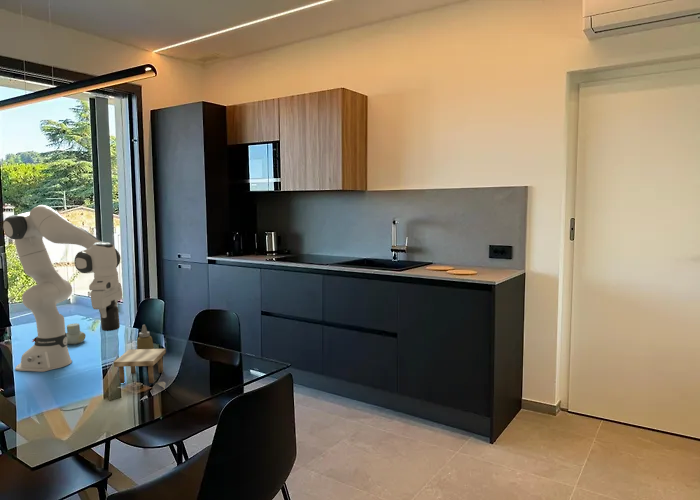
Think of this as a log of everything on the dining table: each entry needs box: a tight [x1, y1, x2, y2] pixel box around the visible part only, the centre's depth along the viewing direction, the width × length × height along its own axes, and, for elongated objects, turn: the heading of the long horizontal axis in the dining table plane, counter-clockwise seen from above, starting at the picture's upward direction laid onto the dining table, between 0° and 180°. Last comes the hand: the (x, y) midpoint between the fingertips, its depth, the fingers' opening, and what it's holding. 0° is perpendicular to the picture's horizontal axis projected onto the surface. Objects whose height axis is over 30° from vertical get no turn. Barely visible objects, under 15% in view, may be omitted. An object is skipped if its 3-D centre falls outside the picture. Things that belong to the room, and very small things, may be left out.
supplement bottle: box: [99, 300, 121, 332], centre depth 205 cm, size 7×7×12 cm
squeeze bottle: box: [136, 324, 155, 349], centre depth 232 cm, size 8×8×18 cm
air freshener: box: [66, 322, 86, 345], centre depth 263 cm, size 11×8×10 cm
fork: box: [154, 381, 167, 390], centre depth 201 cm, size 3×21×3 cm, turn 43°
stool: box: [113, 348, 167, 384], centre depth 214 cm, size 16×16×10 cm
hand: (109, 314), depth 204 cm, fingers closed on supplement bottle, 7 cm apart
